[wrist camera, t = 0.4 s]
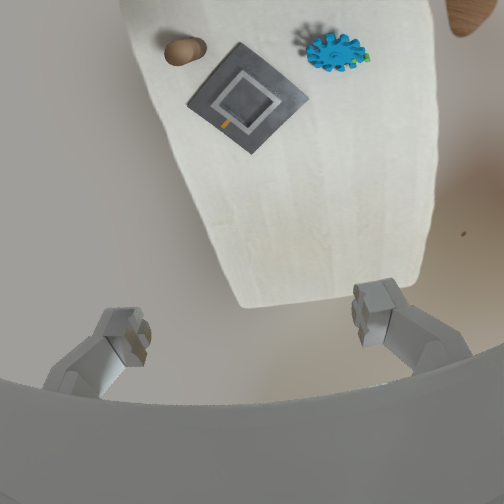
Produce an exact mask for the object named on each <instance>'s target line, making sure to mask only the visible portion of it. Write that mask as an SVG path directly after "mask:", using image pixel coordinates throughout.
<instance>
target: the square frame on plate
mask: <svg viewBox="0 0 504 504" xmlns="http://www.w3.org/2000/svg"><path fill="white" fill-rule="evenodd" d="M308 100H309V98H308V97H307V96H306V95H305V94H304V93H303V92H302V91H300V90H299V89H298V88H297V87H296V86H295V85H294V84H292V83H291V82H290V81H289V80H288V79H287V78H286V77H284V76H283V75H282V74H281V73H280V72H278V71H277V70H276V69H275V68H274V67H272V66H271V65H270V64H269V63H267V62H266V61H265V60H264V59H262V58H261V57H260V56H259V55H257V54H256V53H255V52H253V51H252V50H251V49H249V48H248V47H247V46H245V45H244V44H243V43H241V44H240V45H239V46H238V47H237V48H236V49H235V50H234V51H233V52H232V53H231V54H230V56H229V57H228V58H227V59H226V60H225V61H224V62H223V63H222V65H221V66H220V67H219V68H218V69H217V70H216V72H215V73H214V74H213V75H212V76H211V77H210V79H209V80H208V81H207V82H206V83H205V85H204V86H203V87H202V88H201V90H200V91H199V92H198V93H197V95H196V96H195V97H194V98H193V100H192V101H191V102H190V103H189V105H188V106H187V107H188V108H190V109H191V110H193V111H194V112H195V113H197V114H198V115H200V116H201V117H202V118H204V119H205V120H206V121H208V122H209V123H211V124H212V125H213V126H215V127H216V128H217V129H219V130H220V131H221V132H223V133H224V134H225V135H227V136H228V137H229V138H231V139H232V140H233V141H235V142H236V143H237V144H239V145H240V146H241V147H242V148H244V149H245V150H246V151H248V152H249V153H250V154H251V155H252V154H253V153H254V152H255V151H256V150H257V149H258V148H259V147H260V146H261V145H262V144H263V143H264V142H265V141H266V140H267V139H268V138H269V137H270V136H271V135H272V134H273V133H274V132H275V131H276V130H277V129H278V128H279V127H280V126H281V125H282V124H283V123H284V122H285V121H286V120H287V119H288V118H290V117H291V116H292V115H293V114H294V113H295V112H296V111H297V110H298V109H299V108H300V107H301V106H302V105H303V104H304V103H306V102H307V101H308Z"/></svg>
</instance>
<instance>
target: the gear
mask: <svg viewBox="0 0 504 504" xmlns="http://www.w3.org/2000/svg"><path fill="white" fill-rule="evenodd" d="M325 36H326V40H327V43H326V44H324V45H322V44H321V39H320V38H316V39H313V45H315V46H317V47H319V48H320V49H319V50H315V49H314V47H313V46H311V45H309V46H308V47H307V48H306V52H307V53H310V54H308V55H307V58H308V61H309V62H311V61H314V62H313V63H314V66H315V67H316V68H320V67H321V66H323V65H325V66H324V69H325V70H326V71H329V72H330V71H332V68H333V67H335V66H336V65H338V66H337V70H338V71H345V68H344V65H345V63H349V68H351V69H352V68H356V67H357V66H356V62H359V63H361V62H363V61H365V62H370V57H369V54H367V53H365V48H364V47H360V43H359V41H358V40H357V39H354V40H352V41H351V42H348V41H349V37H348V36H347V35H345V34H341V35H340V38H339V39H338V40H337V41H336V38H335V34H334V33H330V34H326V35H325ZM343 42H347V43H343ZM354 47H355V48H354ZM313 54H316V55H318V56H315V55H313ZM316 60H317V61H316Z"/></svg>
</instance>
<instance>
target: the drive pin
mask: <svg viewBox="0 0 504 504" xmlns="http://www.w3.org/2000/svg"><path fill="white" fill-rule="evenodd" d="M206 50H207V46H206V43H205V42H204V41H203V40H202V39H200V38H189V39H181V40H175V41H172V42H171V43H169V44H168V45H167V47H166V49H165V52H164V56H165V59H166V61H167V62H168V63H169V64H171V65H173V66H182V65H184V64H187V63H189V62H192V61H194V60H197V59H199V58H201V57H203V56H204V55H205V53H206Z"/></svg>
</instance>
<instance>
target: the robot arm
mask: <svg viewBox="0 0 504 504" xmlns="http://www.w3.org/2000/svg"><path fill="white" fill-rule="evenodd" d="M353 294H354V296H355V299H354V300H353V301H352V317H353V321H354V324H355V326H356V327H358V328H359V331H358V336H359V339H360V342H361V344H362V347H369V346H375V345H380V344H384V346H385V347H387V348H388V349H389V350H390V351H391V352H392V353H394V354H395V355H396V356H397V357H398V358H399V359H401V360H402V361H403V362H404V363H405V364H406V365H407V366H409V367H410V368H411V369H412V370H413V371H414V372H413V374H412V376H411V377H407V378H404V379H400V380H396V381H392V382H388V383H384V384H379V385H375V386H371V387H366V388H362V389H356V390H351V391H346V392H341V393H335V394H330V395H324V396H317V397H310V398H303V399H295V400H287V401H277V402H268V403H254V404H237V405H209V406H208V405H201V406H199V405H193V406H192V405H158V404H142V403H129V402H118V401H110V400H102V399H101V398H100V397H101V396H102V395H103V394H104V392H105V391H106V390H107V389H108V388H109V386H110V385H111V384H112V383H113V382H114V381H115V379H116V378H117V377H118V376H119V375H120V374H121V373H122V371H123V370H124V369H125V368H126V367H128V366H129V367H133V366H134V367H137V366H138V367H141V366H144V364H145V360H146V357H147V352H146V350H145V349H146V348H147V347H148V346H149V345H150V342H151V329H150V326H149V324H148V322H146V321H145V320H144V319H142V318H143V315H144V314H143V312H142V310H141V309H140V308H139V307H126V308H107V309H105V310H104V312H103V314H102V316H101V318H100V320H99V322H98V324H97V326H96V328H95V331H94V333H93V335H92V337H88V338H86V339H85V340H84V341H83V342H82V343H80V344H79V345H78V346H77V347H75V348H74V349H73V350H72V351H71V352H69V353H68V354H67V355H66V356H65V357H63V358H62V359H61V360H60V361H59V362H57V363H56V364H55V365H54V366H53V367H52V368H51V370H50V372H49V374H48V376H47V379H46V381H45V383H44V386H43V388H42V389H38V388H34V387H29V386H26V385H22V384H18V383H14V382H10V381H7V380H3V379H0V504H504V343H503V344H500V345H498V346H496V347H493V348H491V349H489V350H486V351H484V352H481V353H479V354H476V355H474V356H473V355H472V353H471V351H470V349H469V348H468V346H467V344H466V342H465V340H464V339H463V337H462V335H461V334H460V332H458V331H456V330H455V329H453V328H451V327H450V326H448V325H446V324H445V323H443V322H441V321H440V320H438V319H436V318H434V317H433V316H431V315H429V314H427V313H426V312H424V311H422V310H421V309H419V308H417V307H415V306H414V305H411V306H409V304H408V302H407V300H406V299H405V297H404V295H403V294H402V292H401V290H400V288H399V287H398V285H397V283H396V282H395V280H394V279H393V278H387V279H382V280H377V281H371V282H365V283H359V284H355V285H354V289H353Z"/></svg>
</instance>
